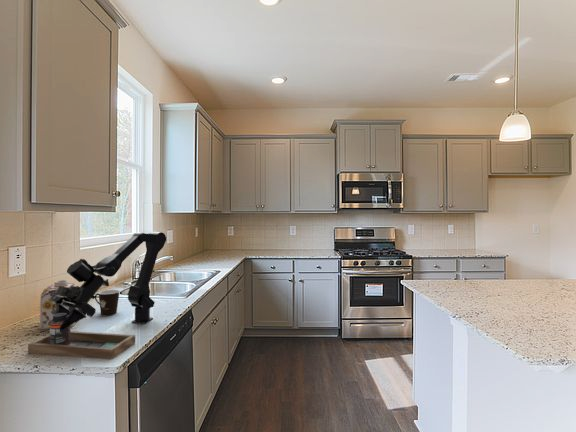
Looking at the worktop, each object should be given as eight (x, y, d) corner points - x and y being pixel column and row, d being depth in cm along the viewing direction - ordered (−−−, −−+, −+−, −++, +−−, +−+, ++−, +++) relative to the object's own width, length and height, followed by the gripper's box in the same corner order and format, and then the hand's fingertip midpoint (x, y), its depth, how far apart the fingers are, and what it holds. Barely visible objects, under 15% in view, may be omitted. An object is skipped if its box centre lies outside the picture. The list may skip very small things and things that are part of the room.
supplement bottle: (66, 341, 121) (67, 310, 121) (72, 346, 117) (73, 314, 117) (47, 346, 116) (47, 314, 116) (52, 351, 113) (53, 318, 112)
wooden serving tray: (59, 338, 124) (59, 330, 124) (135, 343, 120) (135, 335, 120) (28, 353, 111) (28, 344, 111) (111, 359, 107) (111, 349, 107)
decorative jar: (49, 320, 143) (49, 279, 143) (80, 318, 147) (80, 277, 147) (39, 330, 132) (39, 284, 132) (73, 327, 136) (73, 283, 136)
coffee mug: (122, 313, 155) (122, 292, 155) (102, 317, 148) (102, 295, 148) (112, 308, 163) (112, 288, 162) (93, 312, 156) (93, 290, 156)
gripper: (58, 273, 125) (23, 310, 115) (87, 279, 115) (51, 320, 106) (80, 290, 131) (49, 326, 122) (109, 297, 122) (77, 337, 113)
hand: (55, 327), depth 115 cm, fingers closed on supplement bottle, 6 cm apart
